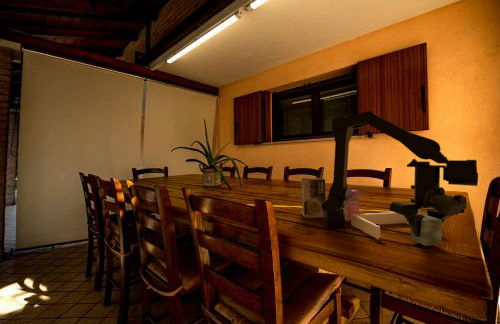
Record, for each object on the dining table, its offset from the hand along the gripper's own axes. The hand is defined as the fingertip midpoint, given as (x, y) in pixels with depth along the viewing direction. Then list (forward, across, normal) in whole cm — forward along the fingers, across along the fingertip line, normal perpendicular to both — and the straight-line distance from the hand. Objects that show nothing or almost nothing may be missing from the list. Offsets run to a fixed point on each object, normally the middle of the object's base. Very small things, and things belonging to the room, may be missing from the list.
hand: (425, 236), depth 65 cm
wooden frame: (+2, 0, +14) cm, 14 cm away
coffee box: (+3, -20, +34) cm, 39 cm away
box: (+3, -8, +30) cm, 31 cm away
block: (+2, 0, 0) cm, 2 cm away
